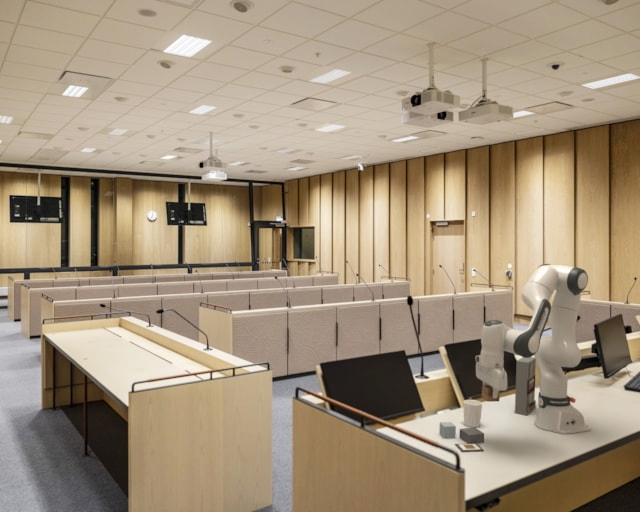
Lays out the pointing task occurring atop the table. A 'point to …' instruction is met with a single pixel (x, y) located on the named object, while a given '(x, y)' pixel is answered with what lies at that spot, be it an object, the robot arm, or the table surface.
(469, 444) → the card
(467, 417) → the white cup
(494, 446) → the table surface
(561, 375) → the robot arm
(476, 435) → the charcoal base block
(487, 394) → the walnut block
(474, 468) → the table surface
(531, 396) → the grey box
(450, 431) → the slate-blue block
